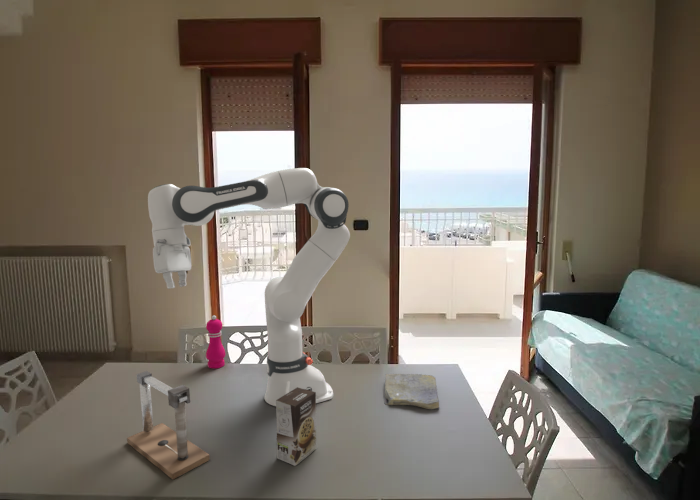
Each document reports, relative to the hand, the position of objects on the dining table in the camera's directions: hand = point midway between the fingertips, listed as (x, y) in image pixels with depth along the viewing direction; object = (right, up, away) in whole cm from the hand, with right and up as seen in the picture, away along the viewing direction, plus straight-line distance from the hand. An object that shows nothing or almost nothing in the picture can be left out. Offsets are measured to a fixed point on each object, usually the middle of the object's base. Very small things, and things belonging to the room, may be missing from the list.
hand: (177, 287), depth 131 cm
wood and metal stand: (+2, -42, -12) cm, 44 cm away
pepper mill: (-2, -34, +43) cm, 55 cm away
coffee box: (+36, -43, -13) cm, 58 cm away
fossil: (+70, -38, +19) cm, 82 cm away
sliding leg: (+1, -40, -12) cm, 42 cm away
